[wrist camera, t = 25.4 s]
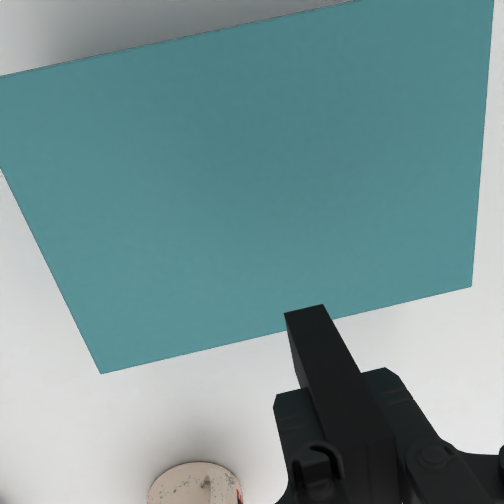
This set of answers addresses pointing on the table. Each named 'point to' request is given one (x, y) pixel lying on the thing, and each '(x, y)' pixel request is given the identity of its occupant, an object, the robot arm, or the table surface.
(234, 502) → the teacup with lid
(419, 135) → the lid
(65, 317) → the table surface
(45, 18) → the table surface
